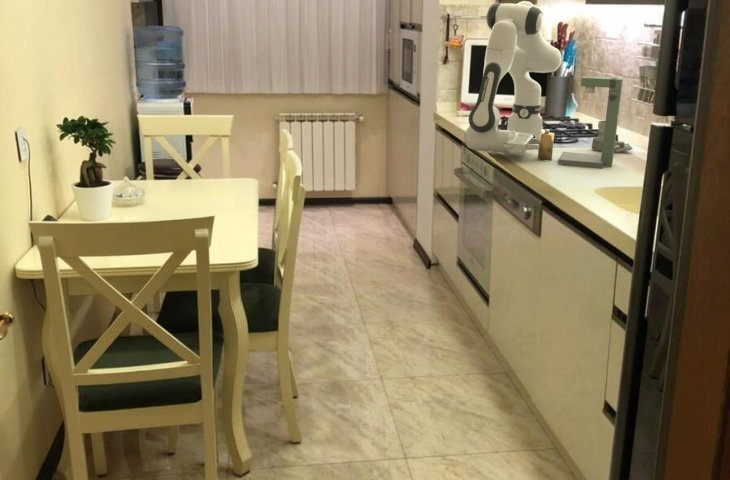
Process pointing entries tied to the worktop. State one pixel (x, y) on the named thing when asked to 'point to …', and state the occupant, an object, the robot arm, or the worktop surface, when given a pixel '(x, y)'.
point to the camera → (598, 141)
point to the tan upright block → (545, 145)
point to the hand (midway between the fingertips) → (541, 144)
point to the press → (610, 125)
